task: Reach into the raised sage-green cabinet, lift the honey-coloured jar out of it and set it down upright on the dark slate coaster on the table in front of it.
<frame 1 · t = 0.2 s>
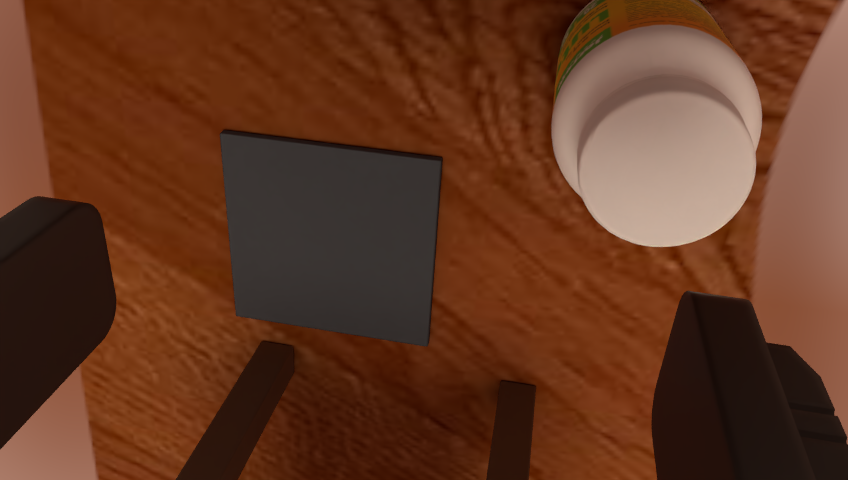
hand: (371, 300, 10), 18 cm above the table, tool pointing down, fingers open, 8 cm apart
supplement bottle: (636, 58, 25), on the table
coaster: (331, 241, 31), on the table
cabinet: (390, 469, 37), on the table
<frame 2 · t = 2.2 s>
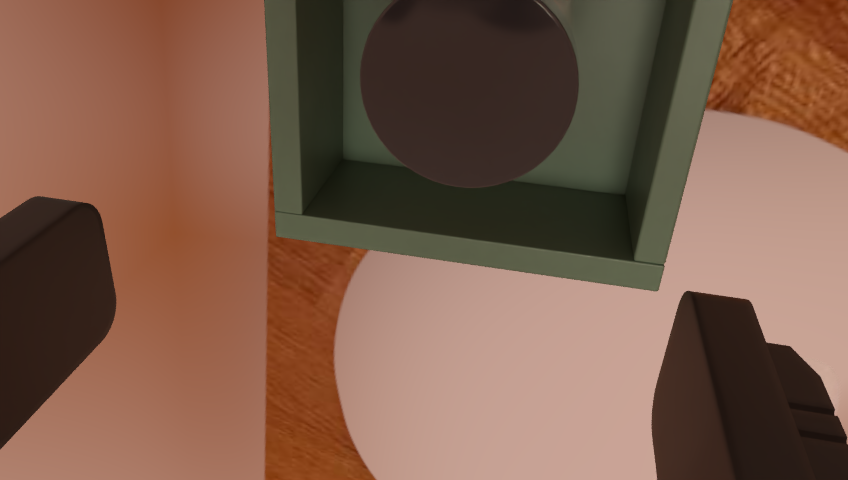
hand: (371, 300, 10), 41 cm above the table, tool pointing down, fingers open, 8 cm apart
jar: (496, 19, 25), point 23 cm above the table, touching cabinet
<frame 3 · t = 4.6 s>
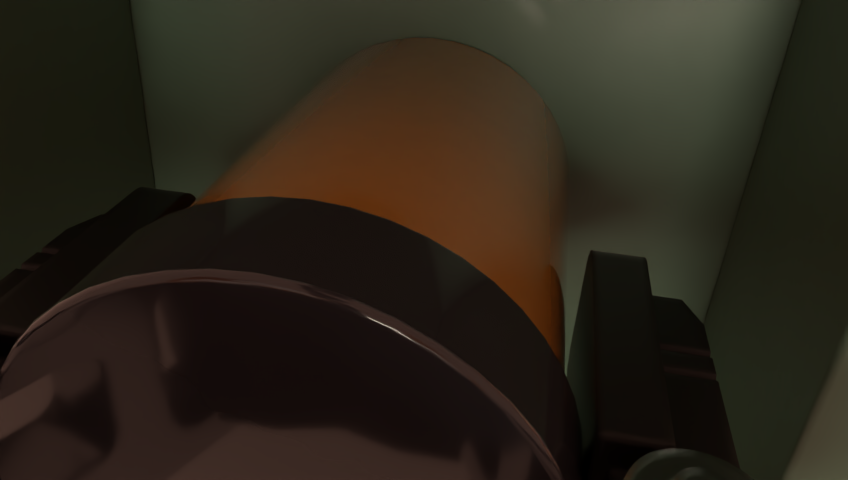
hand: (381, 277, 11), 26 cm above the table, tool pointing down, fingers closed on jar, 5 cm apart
jar: (426, 178, 14), point 23 cm above the table, touching cabinet, gripper
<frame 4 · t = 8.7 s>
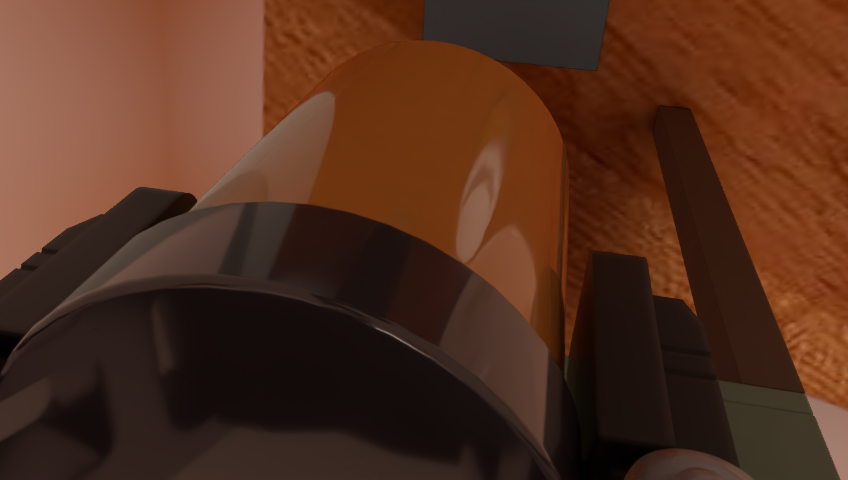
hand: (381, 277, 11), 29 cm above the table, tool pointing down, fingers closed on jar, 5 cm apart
jar: (426, 180, 14), point 26 cm above the table, touching gripper
cabinet: (544, 213, 42), on the table
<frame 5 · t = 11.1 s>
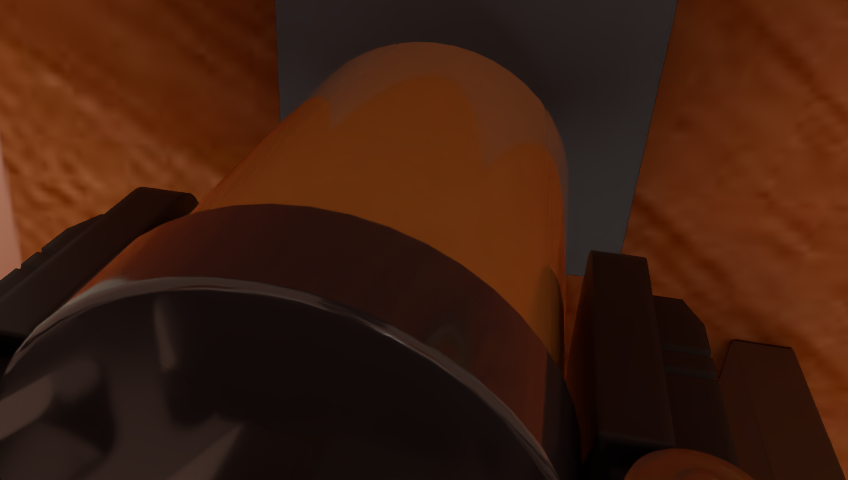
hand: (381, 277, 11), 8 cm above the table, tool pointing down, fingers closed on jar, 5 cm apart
jar: (426, 181, 14), point 5 cm above the table, touching gripper
coaster: (460, 90, 18), on the table
when the fingers open (4 cm above the table, at t = 12.7 s): jar stays where it is, resting on coaster.
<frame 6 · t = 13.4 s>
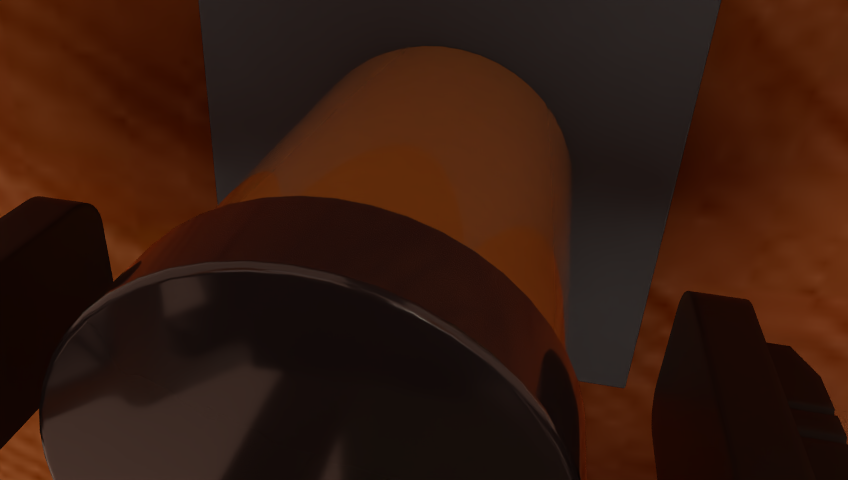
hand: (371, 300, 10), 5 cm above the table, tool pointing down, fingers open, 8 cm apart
jar: (434, 180, 14), resting on coaster
coaster: (435, 163, 14), on the table
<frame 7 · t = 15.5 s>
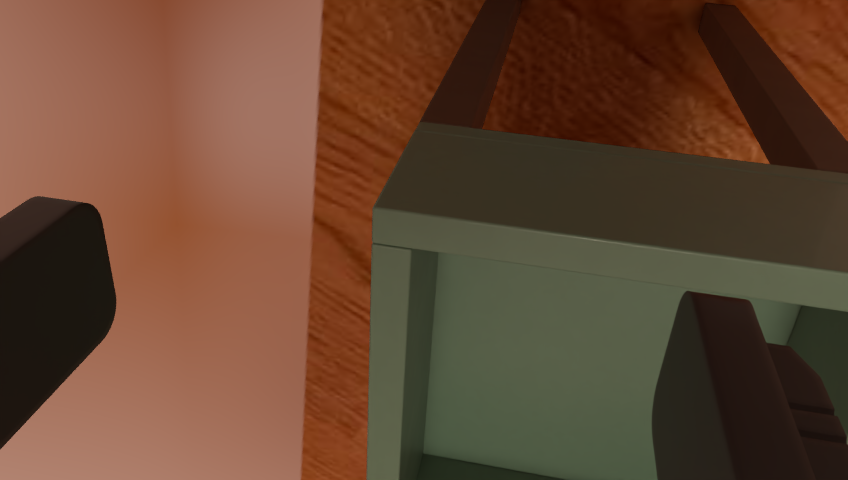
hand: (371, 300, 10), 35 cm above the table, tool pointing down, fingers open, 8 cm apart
cabinet: (590, 115, 43), on the table
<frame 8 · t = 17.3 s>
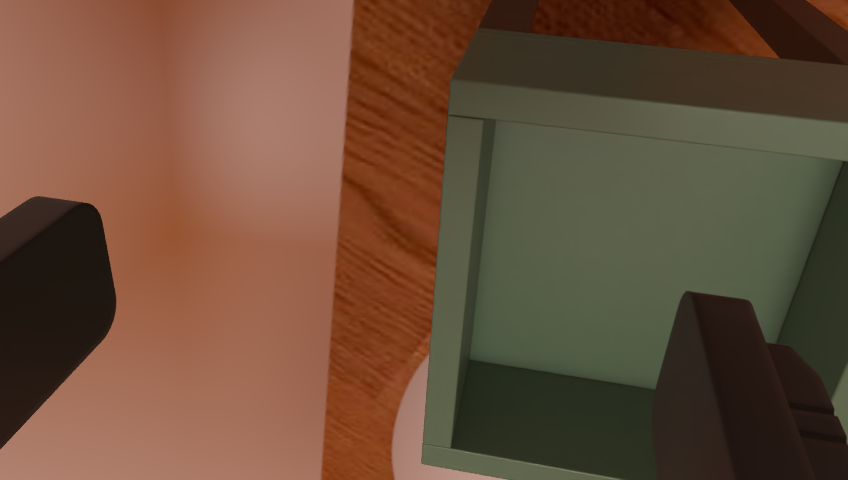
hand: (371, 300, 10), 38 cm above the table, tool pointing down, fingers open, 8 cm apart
cabinet: (613, 70, 45), on the table
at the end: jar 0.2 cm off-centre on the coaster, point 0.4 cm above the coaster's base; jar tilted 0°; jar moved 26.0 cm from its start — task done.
